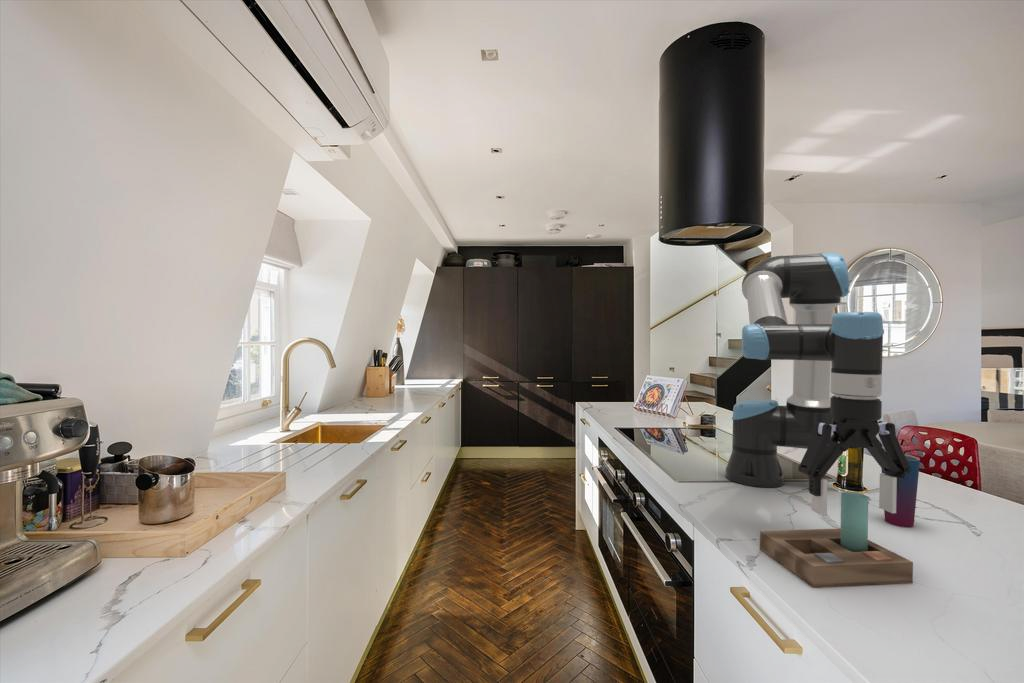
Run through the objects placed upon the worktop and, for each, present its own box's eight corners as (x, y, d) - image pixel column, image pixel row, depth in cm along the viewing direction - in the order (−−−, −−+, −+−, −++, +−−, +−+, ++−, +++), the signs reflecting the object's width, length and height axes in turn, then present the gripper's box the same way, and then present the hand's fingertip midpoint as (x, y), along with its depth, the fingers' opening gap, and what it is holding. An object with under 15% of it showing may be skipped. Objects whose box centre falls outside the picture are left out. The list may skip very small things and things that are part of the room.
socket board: (759, 549, 90) (760, 529, 90) (845, 545, 92) (845, 526, 92) (813, 587, 76) (813, 564, 76) (912, 582, 78) (912, 560, 78)
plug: (834, 556, 86) (835, 492, 86) (854, 555, 87) (855, 491, 87) (852, 566, 82) (853, 499, 82) (873, 565, 83) (874, 499, 83)
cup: (926, 530, 100) (927, 461, 100) (890, 527, 101) (891, 459, 101) (906, 518, 107) (907, 453, 107) (873, 516, 108) (874, 451, 108)
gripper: (807, 400, 79) (805, 522, 80) (938, 398, 82) (935, 517, 82) (777, 394, 87) (776, 506, 87) (898, 393, 89) (896, 502, 90)
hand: (853, 512), depth 85 cm, fingers open, 13 cm apart
